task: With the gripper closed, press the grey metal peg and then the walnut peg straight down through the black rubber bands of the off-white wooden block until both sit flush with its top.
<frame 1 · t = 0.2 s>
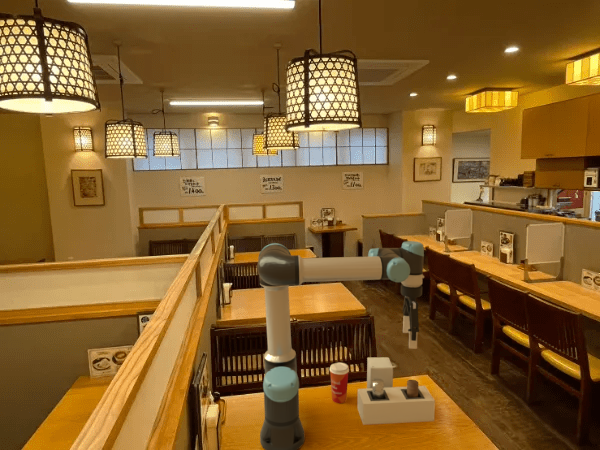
hand: (409, 340, 152), 28 cm above the table, tool pointing down, fingers open, 13 cm apart
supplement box: (379, 397, 165), on the table
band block: (394, 414, 153), on the table
walnut peg: (412, 392, 152), point 9 cm above the table, slide at 4.5 cm
paper cup: (339, 400, 164), on the table
metal peg: (377, 391, 152), point 10 cm above the table, slide at 5.5 cm
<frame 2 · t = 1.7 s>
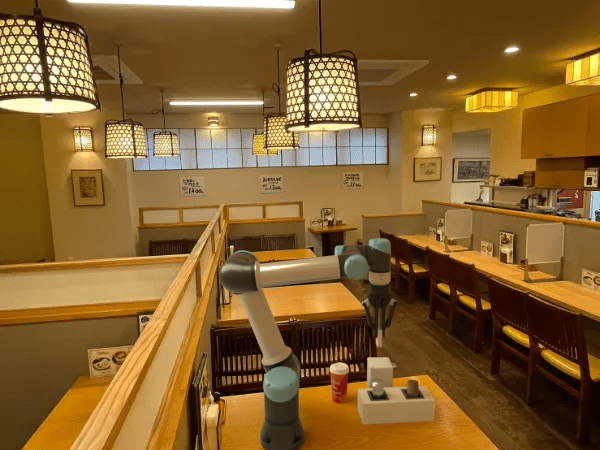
hand: (378, 345, 149), 27 cm above the table, tool pointing down, fingers closed
nothing on the table moved.
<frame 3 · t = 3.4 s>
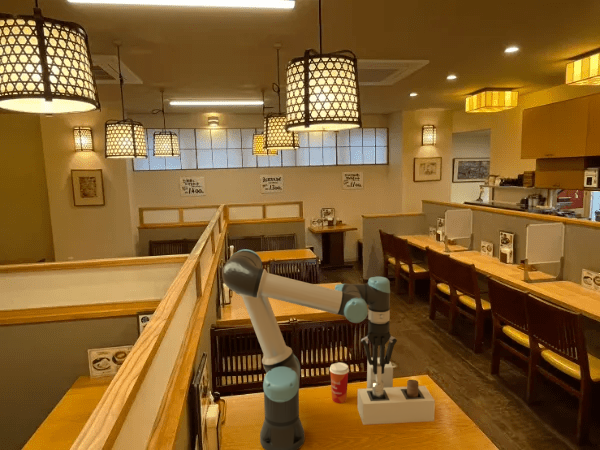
hand: (378, 381, 151), 13 cm above the table, tool pointing down, fingers closed
metal peg: (377, 392, 152), point 9 cm above the table, slide at 5.2 cm, touching gripper
everything else where it was.
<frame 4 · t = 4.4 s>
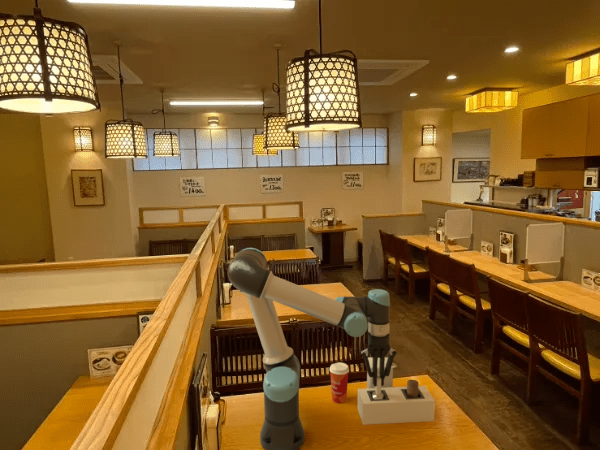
hand: (378, 393, 152), 9 cm above the table, tool pointing down, fingers closed
metal peg: (377, 403, 152), point 5 cm above the table, slide at 0.5 cm, touching gripper
everything else where it was.
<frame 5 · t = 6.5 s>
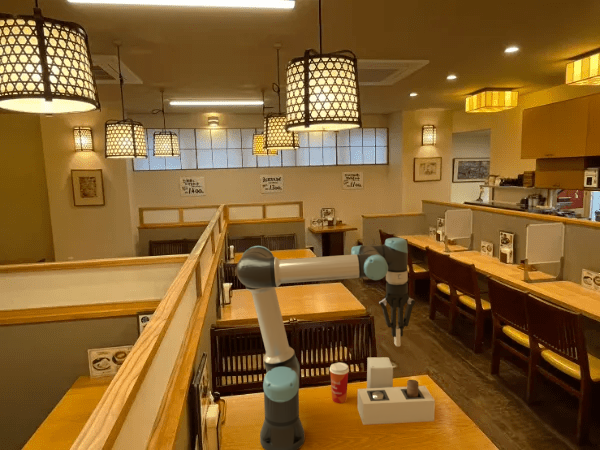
hand: (397, 344, 149), 28 cm above the table, tool pointing down, fingers closed
metal peg: (377, 404, 152), point 5 cm above the table, slide at 0.4 cm
everything else where it was.
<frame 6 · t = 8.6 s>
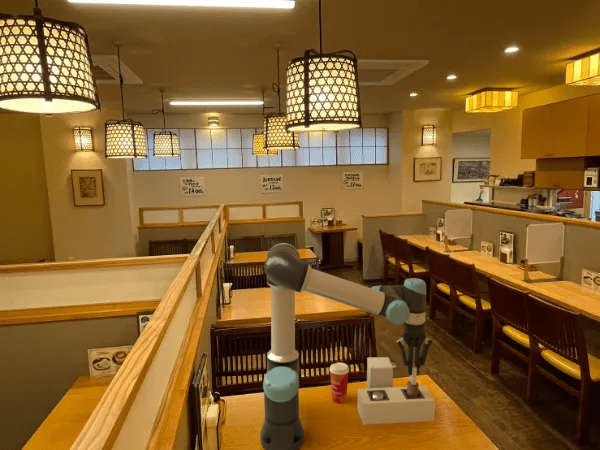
hand: (413, 382, 152), 12 cm above the table, tool pointing down, fingers closed
walnut peg: (412, 392, 152), point 8 cm above the table, slide at 4.1 cm, touching gripper
everything else where it was.
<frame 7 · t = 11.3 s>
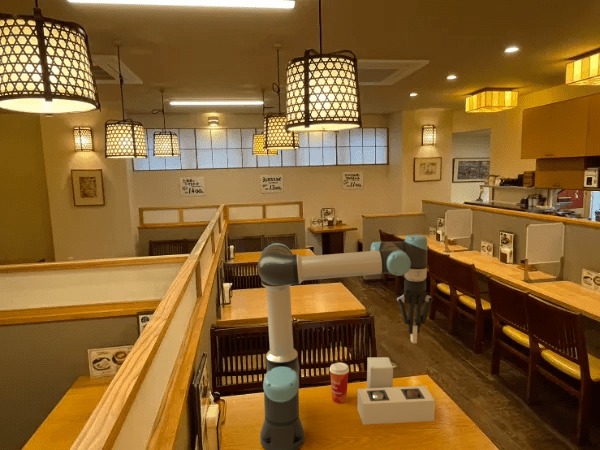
hand: (413, 341, 150), 28 cm above the table, tool pointing down, fingers closed
walnut peg: (412, 402, 153), point 5 cm above the table, slide at 0.4 cm
everything else where it was.
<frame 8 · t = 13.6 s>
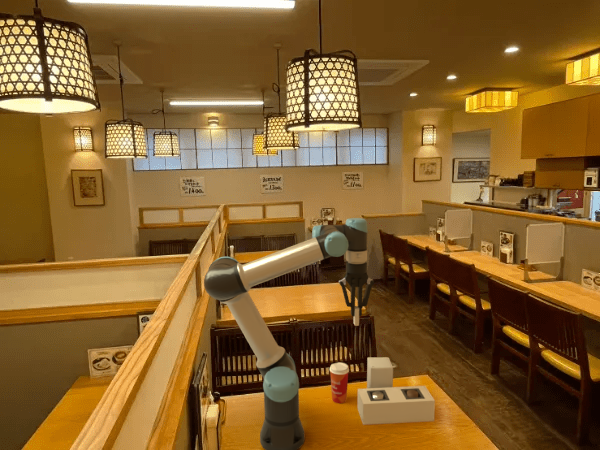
hand: (356, 324, 151), 34 cm above the table, tool pointing down, fingers closed
nothing on the table moved.
at the end: metal peg slide at 0.4 cm; walnut peg slide at 0.4 cm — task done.
